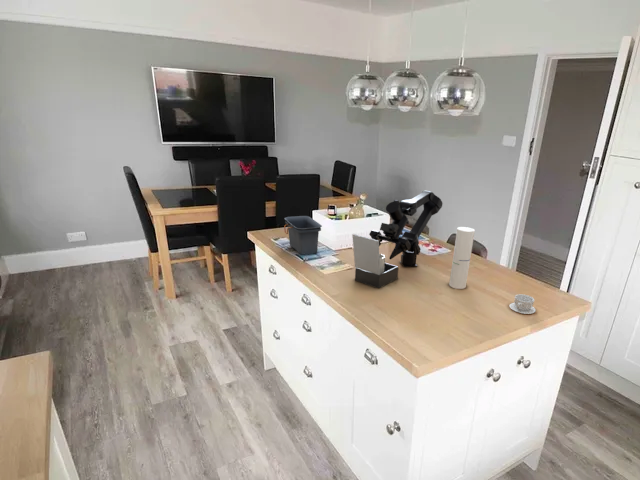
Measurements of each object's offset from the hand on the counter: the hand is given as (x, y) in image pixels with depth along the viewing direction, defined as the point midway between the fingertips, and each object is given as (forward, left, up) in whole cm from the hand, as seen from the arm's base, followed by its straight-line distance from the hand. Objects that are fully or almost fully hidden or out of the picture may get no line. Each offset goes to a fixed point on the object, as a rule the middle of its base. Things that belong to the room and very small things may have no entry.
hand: (381, 256), depth 177 cm
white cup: (+2, +1, -9) cm, 10 cm away
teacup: (-46, +39, -10) cm, 61 cm away
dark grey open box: (+2, +1, -10) cm, 10 cm away
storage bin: (+28, -42, -10) cm, 52 cm away
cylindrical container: (-31, +13, -10) cm, 35 cm away
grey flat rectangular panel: (+8, +6, +4) cm, 11 cm away
